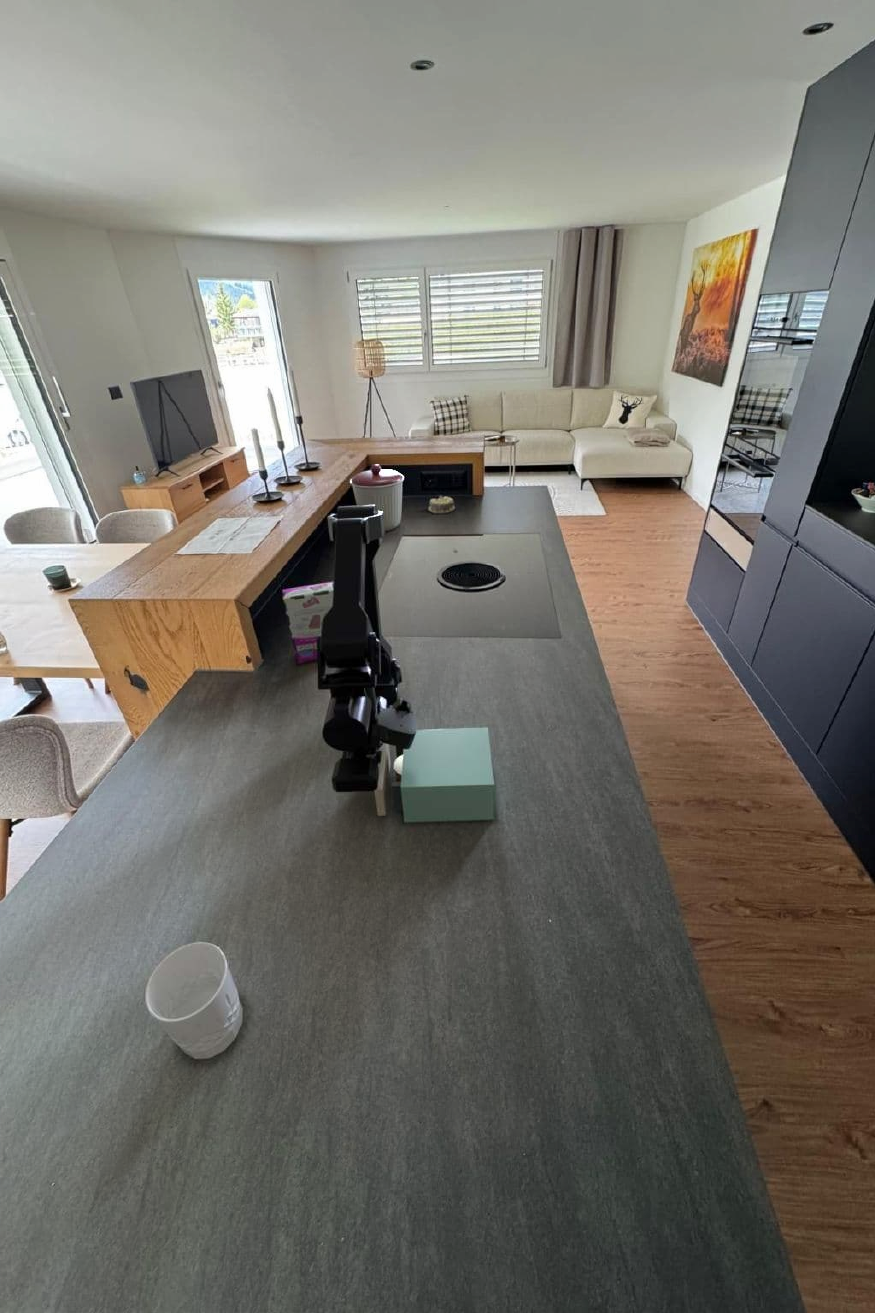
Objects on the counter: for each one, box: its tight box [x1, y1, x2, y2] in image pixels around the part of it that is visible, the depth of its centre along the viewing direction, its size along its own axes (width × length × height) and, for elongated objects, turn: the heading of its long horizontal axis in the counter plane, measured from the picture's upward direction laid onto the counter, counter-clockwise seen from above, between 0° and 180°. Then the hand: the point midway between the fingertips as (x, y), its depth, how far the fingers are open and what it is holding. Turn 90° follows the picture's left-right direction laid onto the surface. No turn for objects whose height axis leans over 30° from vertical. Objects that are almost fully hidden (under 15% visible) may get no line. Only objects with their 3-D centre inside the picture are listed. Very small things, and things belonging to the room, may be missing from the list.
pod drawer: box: [373, 743, 403, 817], centre depth 88 cm, size 17×11×6 cm, turn 90°
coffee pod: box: [392, 755, 403, 782], centre depth 88 cm, size 5×5×4 cm
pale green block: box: [401, 727, 495, 823], centre depth 88 cm, size 14×13×8 cm
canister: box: [349, 463, 405, 532], centre depth 187 cm, size 18×18×21 cm
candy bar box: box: [282, 581, 334, 665], centre depth 121 cm, size 11×5×16 cm, turn 105°
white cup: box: [144, 941, 244, 1060], centre depth 59 cm, size 8×8×10 cm
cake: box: [427, 494, 456, 514], centre depth 204 cm, size 10×10×5 cm
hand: (368, 780), depth 89 cm, fingers closed
